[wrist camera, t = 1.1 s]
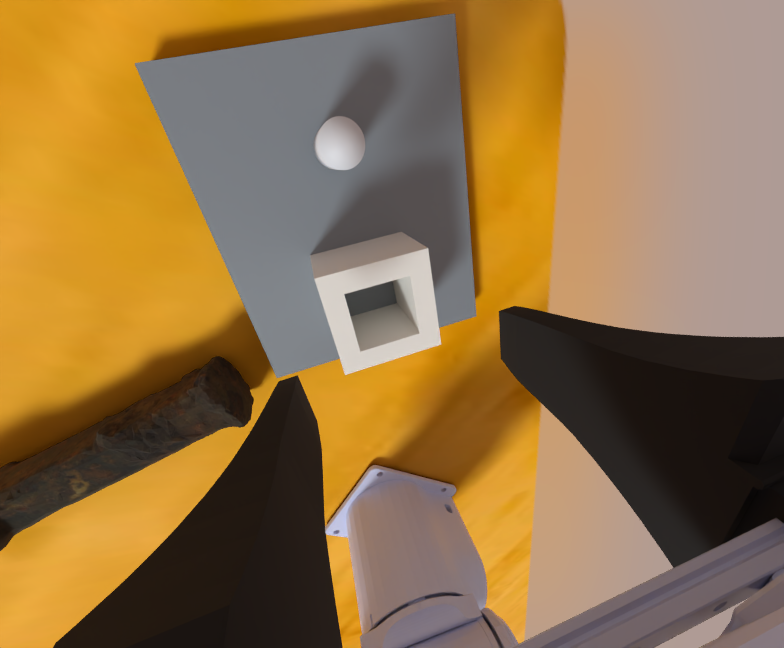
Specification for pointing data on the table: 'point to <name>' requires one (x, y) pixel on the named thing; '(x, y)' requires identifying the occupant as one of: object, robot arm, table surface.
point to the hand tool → (122, 445)
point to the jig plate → (323, 167)
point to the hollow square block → (387, 324)
